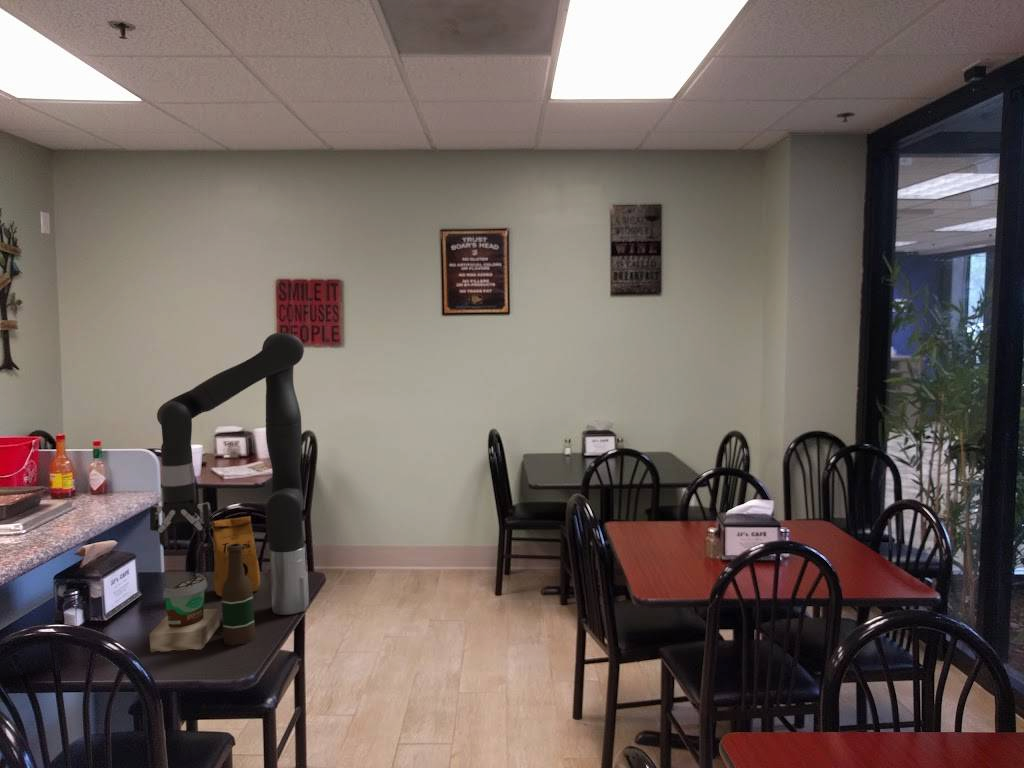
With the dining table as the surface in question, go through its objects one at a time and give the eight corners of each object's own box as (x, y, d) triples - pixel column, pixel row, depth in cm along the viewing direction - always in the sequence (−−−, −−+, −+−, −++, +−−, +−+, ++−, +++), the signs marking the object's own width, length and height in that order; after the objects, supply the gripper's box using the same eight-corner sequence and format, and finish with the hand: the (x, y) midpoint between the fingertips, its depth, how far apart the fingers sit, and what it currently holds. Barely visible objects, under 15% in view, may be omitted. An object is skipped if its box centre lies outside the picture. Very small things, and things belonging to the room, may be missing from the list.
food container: (185, 632, 178) (183, 591, 177) (164, 629, 180) (162, 589, 179) (219, 612, 190) (217, 574, 189) (198, 610, 191) (197, 572, 191)
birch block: (219, 627, 193) (218, 608, 192) (202, 651, 179) (201, 631, 178) (171, 630, 192) (170, 611, 191) (150, 654, 178) (149, 634, 177)
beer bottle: (230, 632, 188) (225, 540, 186) (261, 632, 188) (256, 540, 185) (217, 646, 180) (211, 550, 178) (249, 646, 180) (243, 549, 178)
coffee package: (261, 593, 215) (257, 519, 213) (215, 601, 210) (211, 525, 208) (258, 582, 224) (254, 511, 222) (214, 589, 219) (209, 516, 217)
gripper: (212, 476, 189) (216, 538, 191) (154, 479, 187) (158, 542, 189) (204, 483, 182) (208, 547, 183) (143, 486, 180) (147, 551, 181)
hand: (183, 545), depth 186 cm, fingers open, 8 cm apart
